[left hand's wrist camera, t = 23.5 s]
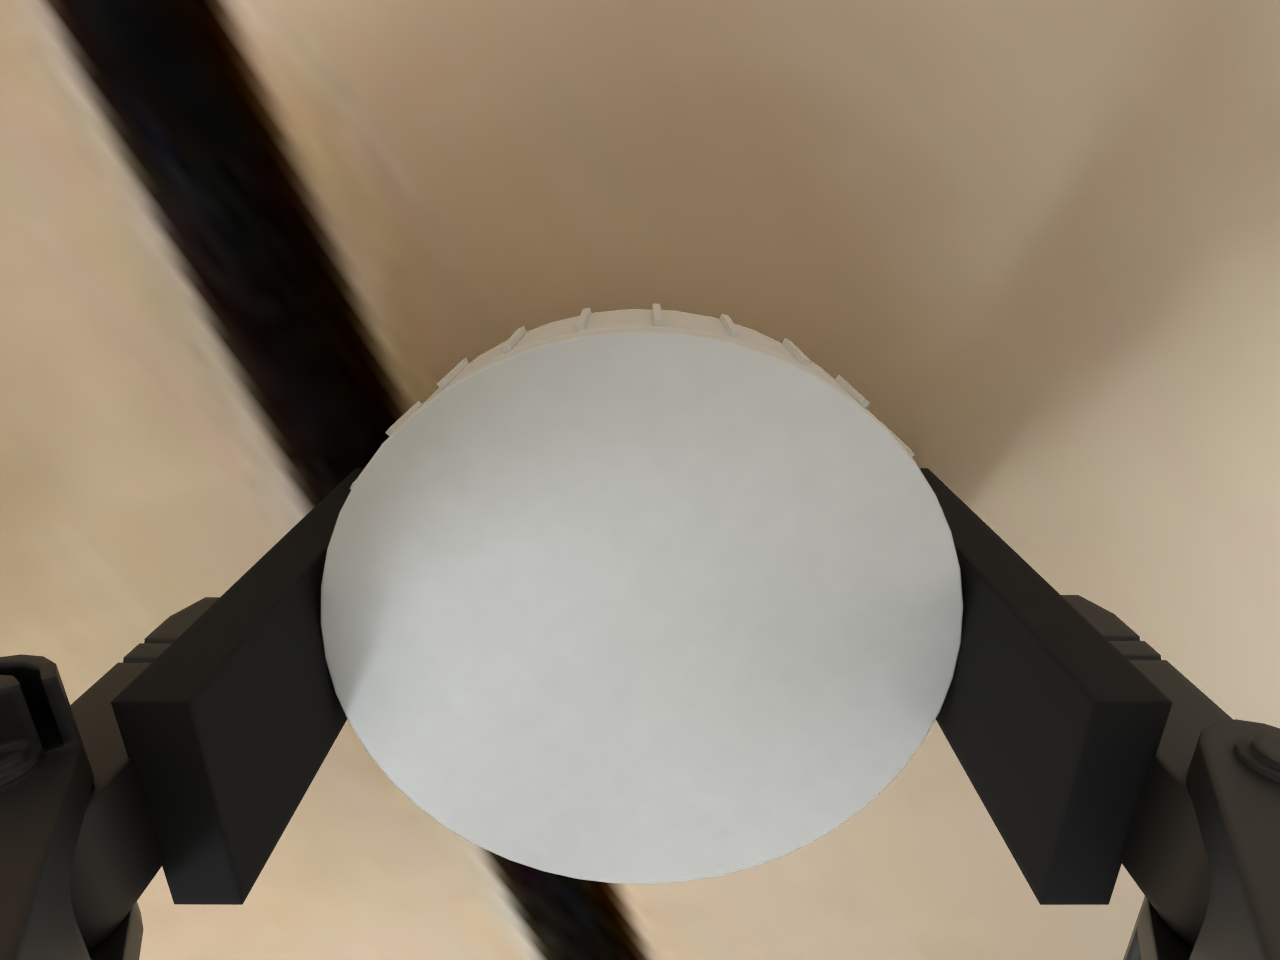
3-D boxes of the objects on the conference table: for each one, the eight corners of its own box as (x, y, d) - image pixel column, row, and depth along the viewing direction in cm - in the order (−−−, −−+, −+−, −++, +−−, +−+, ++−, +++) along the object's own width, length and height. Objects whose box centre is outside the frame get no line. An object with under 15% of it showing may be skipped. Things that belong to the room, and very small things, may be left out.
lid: (371, 778, 13) (330, 867, 12) (350, 271, 10) (289, 287, 8) (856, 816, 14) (887, 908, 12) (984, 335, 10) (1054, 364, 9)
